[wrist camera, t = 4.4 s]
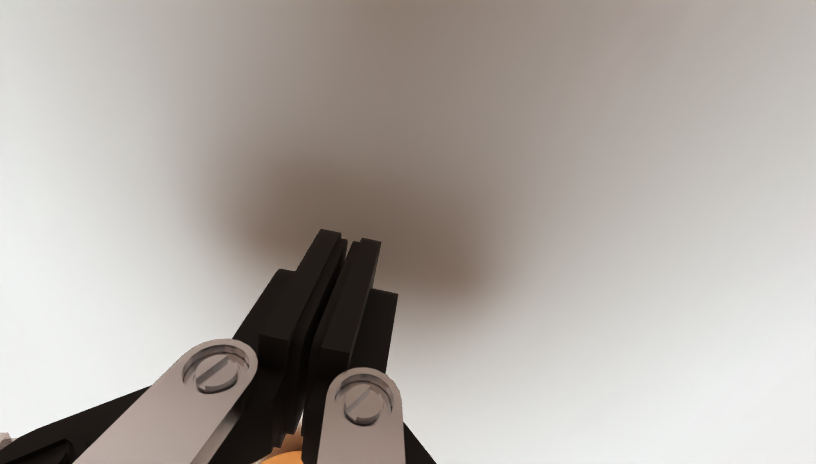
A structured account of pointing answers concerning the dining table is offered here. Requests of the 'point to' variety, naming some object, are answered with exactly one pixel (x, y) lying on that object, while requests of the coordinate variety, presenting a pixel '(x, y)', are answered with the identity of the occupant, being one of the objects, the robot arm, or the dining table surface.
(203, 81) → the dining table surface
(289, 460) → the ball
